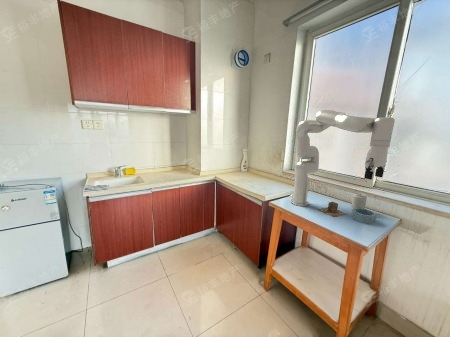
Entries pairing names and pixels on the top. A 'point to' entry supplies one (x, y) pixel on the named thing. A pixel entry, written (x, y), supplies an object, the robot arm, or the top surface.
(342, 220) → the top surface
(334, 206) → the lid
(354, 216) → the bowl
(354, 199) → the can
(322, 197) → the top surface
